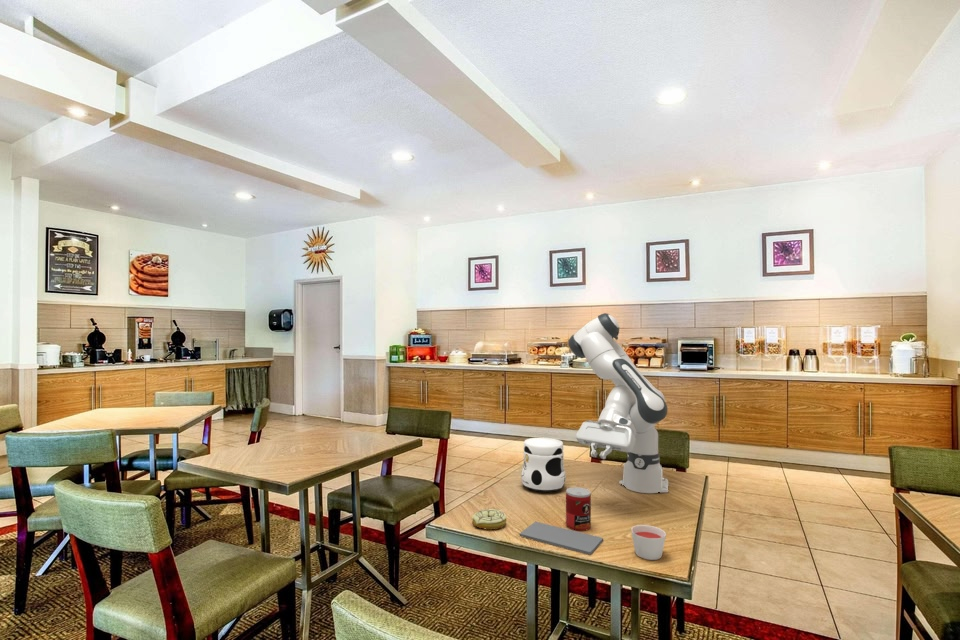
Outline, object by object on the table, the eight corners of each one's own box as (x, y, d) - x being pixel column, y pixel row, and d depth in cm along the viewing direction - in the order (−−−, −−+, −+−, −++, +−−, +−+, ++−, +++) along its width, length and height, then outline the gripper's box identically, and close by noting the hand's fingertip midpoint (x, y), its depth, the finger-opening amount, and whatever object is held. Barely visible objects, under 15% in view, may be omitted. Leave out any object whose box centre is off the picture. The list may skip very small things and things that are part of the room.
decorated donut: (471, 519, 156) (471, 507, 157) (503, 518, 157) (503, 506, 158) (474, 532, 146) (474, 519, 146) (508, 531, 147) (508, 518, 147)
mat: (535, 523, 152) (535, 521, 152) (603, 540, 140) (603, 537, 141) (519, 536, 143) (519, 533, 143) (590, 555, 131) (590, 552, 131)
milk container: (513, 483, 193) (514, 438, 193) (551, 479, 199) (552, 435, 200) (533, 497, 177) (533, 448, 177) (574, 492, 183) (574, 445, 183)
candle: (637, 544, 138) (637, 522, 138) (669, 553, 133) (669, 530, 133) (626, 556, 131) (626, 532, 131) (660, 565, 126) (660, 541, 126)
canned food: (576, 533, 146) (576, 496, 146) (560, 523, 153) (560, 489, 153) (596, 528, 149) (596, 493, 149) (579, 519, 156) (579, 485, 156)
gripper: (581, 414, 173) (567, 446, 166) (635, 422, 160) (623, 456, 152) (587, 425, 177) (573, 456, 169) (641, 433, 163) (628, 468, 156)
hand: (597, 456), depth 161 cm, fingers closed
